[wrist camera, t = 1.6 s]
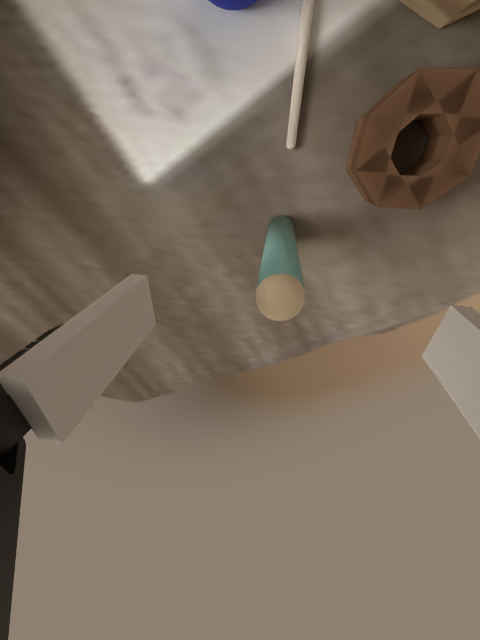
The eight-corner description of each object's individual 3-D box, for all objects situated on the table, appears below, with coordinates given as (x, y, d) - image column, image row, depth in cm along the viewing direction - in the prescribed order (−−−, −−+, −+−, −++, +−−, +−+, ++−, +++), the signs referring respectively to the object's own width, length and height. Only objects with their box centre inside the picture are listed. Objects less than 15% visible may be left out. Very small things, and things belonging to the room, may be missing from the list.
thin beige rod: (294, 149, 22) (295, 149, 21) (285, 149, 22) (285, 149, 21) (337, -180, 14) (340, -197, 13) (322, -179, 14) (324, -196, 13)
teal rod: (267, 240, 26) (251, 327, 13) (269, 214, 25) (255, 282, 11) (291, 242, 26) (302, 333, 12) (295, 216, 24) (312, 287, 11)
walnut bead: (338, 198, 23) (347, 204, 20) (365, 81, 19) (381, 67, 16) (430, 204, 22) (453, 210, 19) (480, 83, 18) (519, 68, 15)
